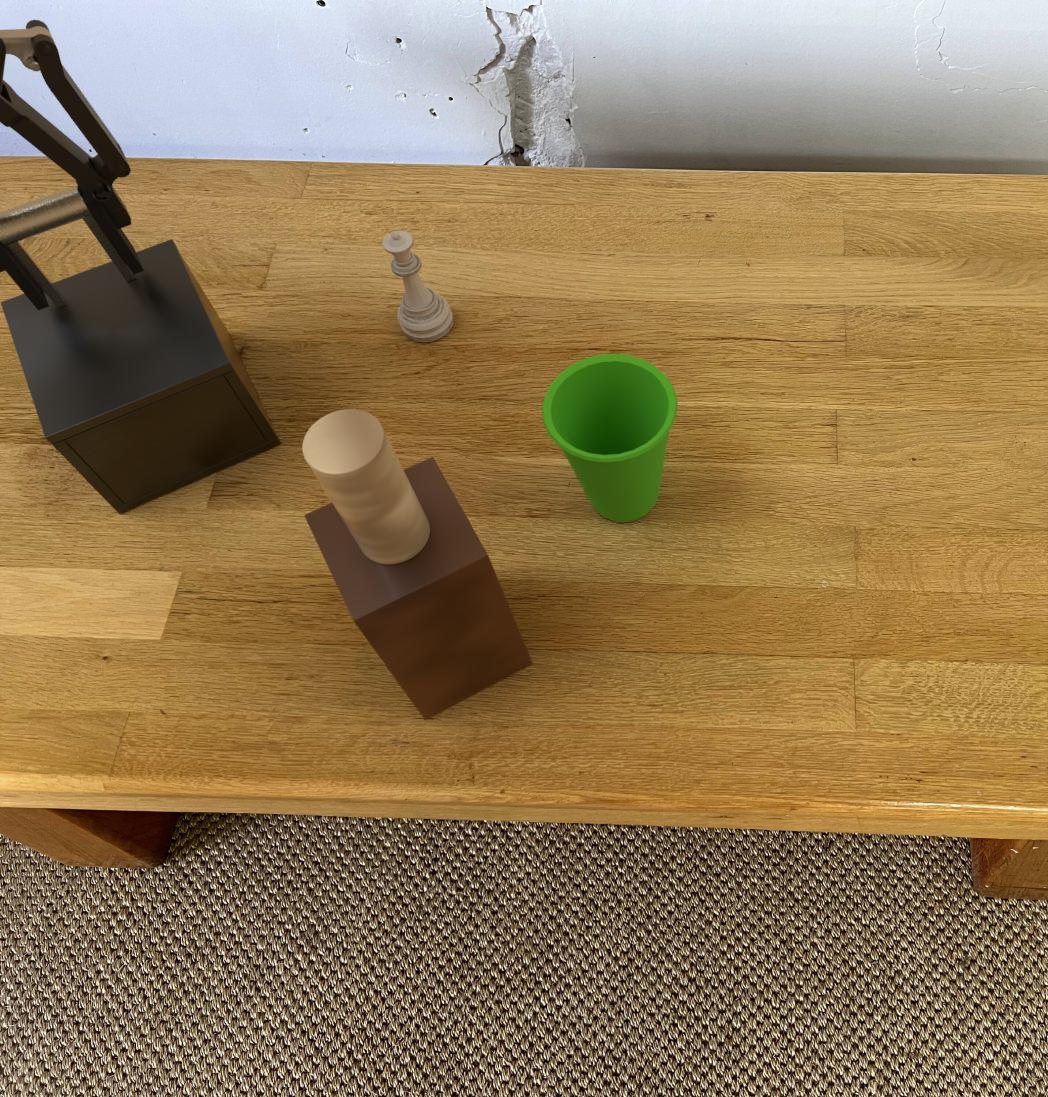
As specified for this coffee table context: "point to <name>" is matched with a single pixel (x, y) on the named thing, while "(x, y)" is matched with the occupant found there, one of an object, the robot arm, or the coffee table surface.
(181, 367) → the handled dark lid
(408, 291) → the chess piece
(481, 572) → the dark brown rectangular block
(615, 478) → the cup
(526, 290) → the coffee table surface
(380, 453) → the tan wooden cylinder
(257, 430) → the dark boxy piece
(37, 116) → the robot arm
